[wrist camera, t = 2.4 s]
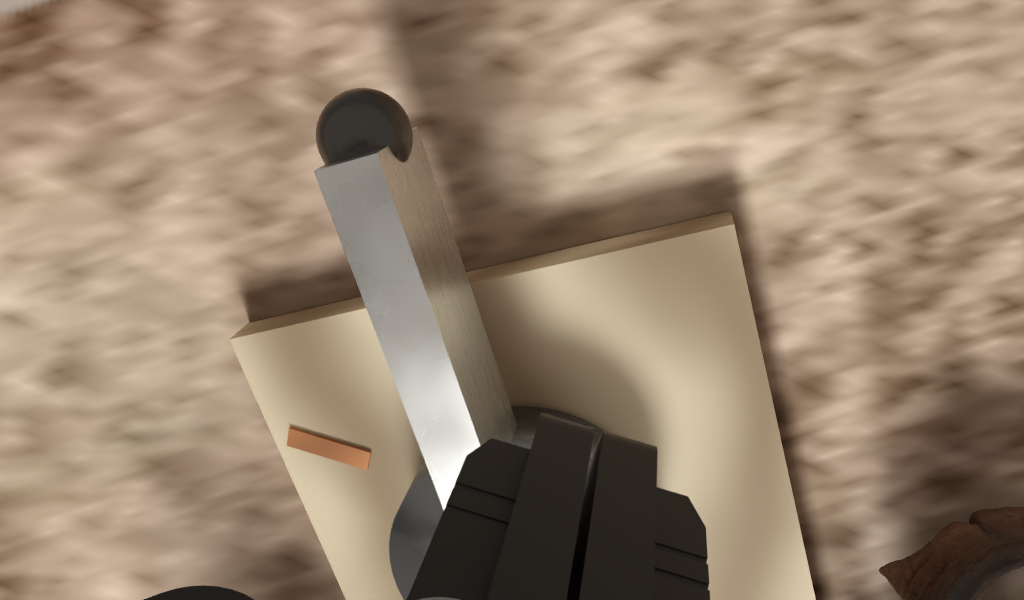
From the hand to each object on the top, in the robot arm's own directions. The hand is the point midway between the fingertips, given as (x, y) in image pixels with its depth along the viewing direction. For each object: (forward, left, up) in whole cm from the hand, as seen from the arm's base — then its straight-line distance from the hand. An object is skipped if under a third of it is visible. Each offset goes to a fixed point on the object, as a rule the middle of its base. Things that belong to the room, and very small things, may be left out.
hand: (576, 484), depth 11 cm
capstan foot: (-6, -5, -15) cm, 17 cm away
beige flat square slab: (-6, -11, -17) cm, 21 cm away
